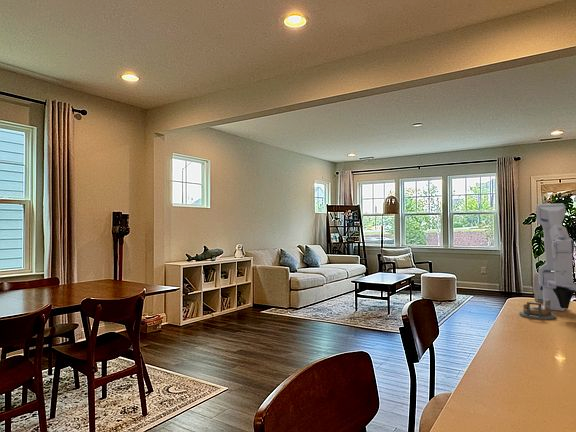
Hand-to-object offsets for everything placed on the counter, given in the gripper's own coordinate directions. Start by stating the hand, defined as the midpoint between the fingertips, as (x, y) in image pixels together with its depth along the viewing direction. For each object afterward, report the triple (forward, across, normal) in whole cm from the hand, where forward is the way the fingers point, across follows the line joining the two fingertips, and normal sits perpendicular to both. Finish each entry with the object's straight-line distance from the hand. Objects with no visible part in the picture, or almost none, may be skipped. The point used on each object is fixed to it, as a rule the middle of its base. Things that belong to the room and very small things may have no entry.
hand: (564, 307), depth 152 cm
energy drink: (+4, +34, -18) cm, 38 cm away
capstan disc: (+3, +7, +6) cm, 9 cm away
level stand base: (+4, +7, +6) cm, 10 cm away
